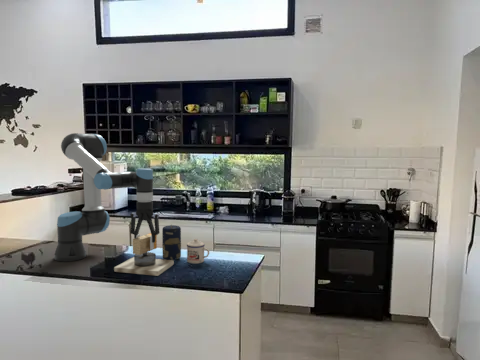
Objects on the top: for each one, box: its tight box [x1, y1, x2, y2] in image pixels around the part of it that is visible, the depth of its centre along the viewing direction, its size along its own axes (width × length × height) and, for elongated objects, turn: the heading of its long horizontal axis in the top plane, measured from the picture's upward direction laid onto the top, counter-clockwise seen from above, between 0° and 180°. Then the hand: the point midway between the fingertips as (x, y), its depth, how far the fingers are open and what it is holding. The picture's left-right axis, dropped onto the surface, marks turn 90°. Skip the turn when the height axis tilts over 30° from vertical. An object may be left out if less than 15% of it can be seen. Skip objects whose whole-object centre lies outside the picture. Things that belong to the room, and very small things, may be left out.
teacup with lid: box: [186, 238, 210, 264], centre depth 194 cm, size 12×9×12 cm
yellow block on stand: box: [132, 232, 158, 266], centre depth 182 cm, size 13×10×13 cm
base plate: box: [113, 256, 175, 277], centre depth 182 cm, size 22×18×2 cm
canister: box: [161, 224, 182, 261], centre depth 198 cm, size 10×10×18 cm
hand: (144, 248), depth 182 cm, fingers open, 6 cm apart
